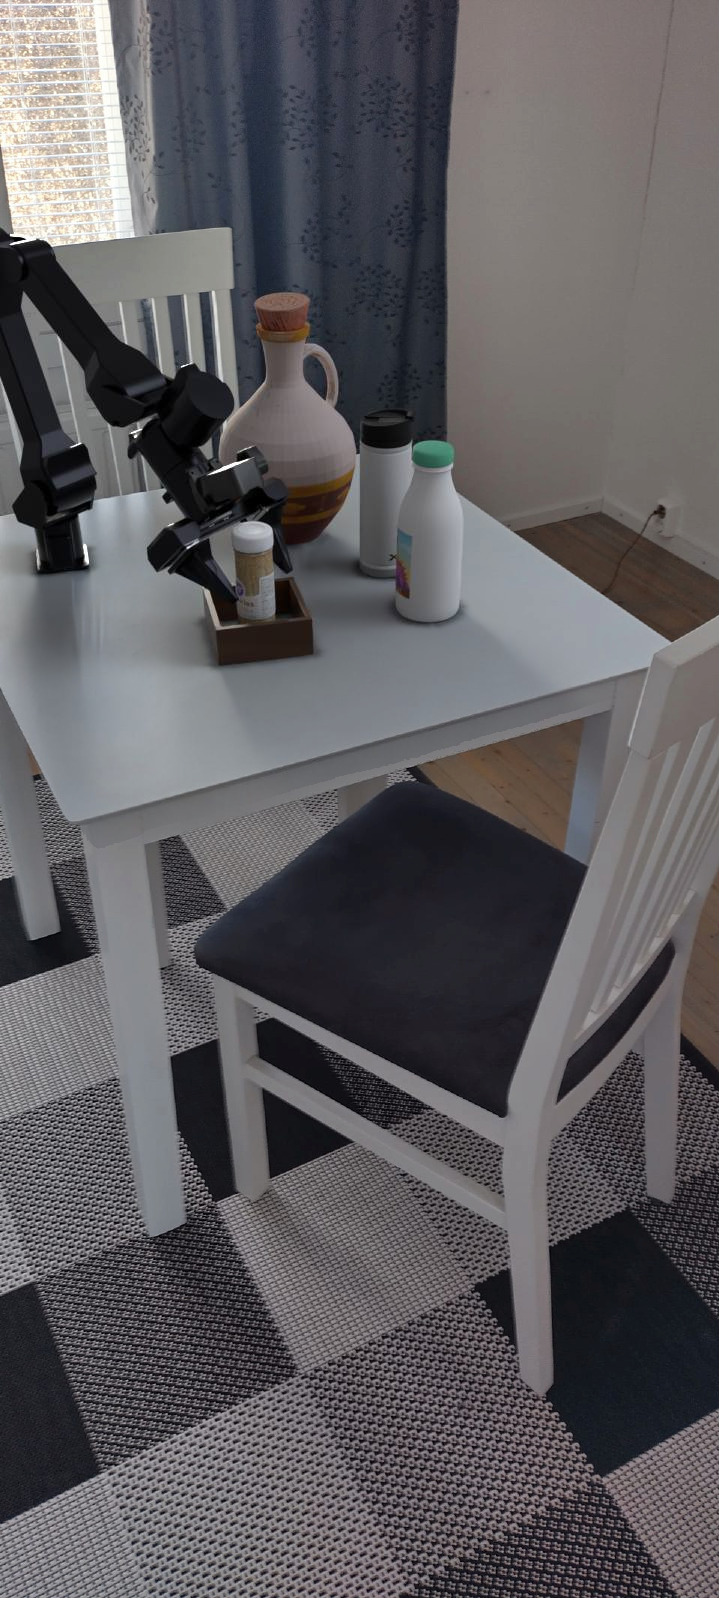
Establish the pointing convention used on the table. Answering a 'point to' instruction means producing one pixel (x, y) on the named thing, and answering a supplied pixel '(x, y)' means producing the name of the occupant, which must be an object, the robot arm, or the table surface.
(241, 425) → the jug
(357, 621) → the table surface
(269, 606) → the sprinkles bottle
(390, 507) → the travel mug
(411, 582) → the milk bottle
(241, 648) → the crate
